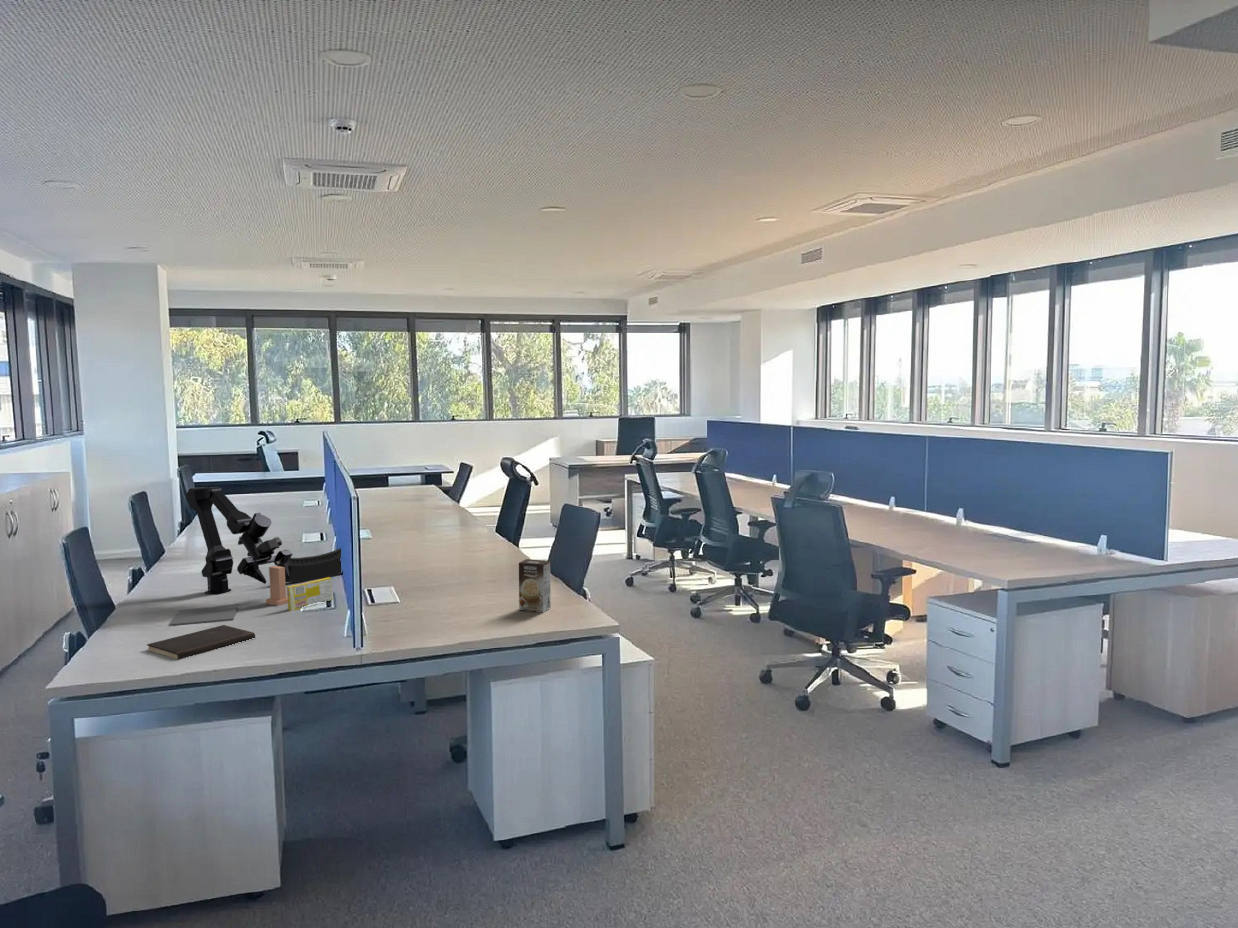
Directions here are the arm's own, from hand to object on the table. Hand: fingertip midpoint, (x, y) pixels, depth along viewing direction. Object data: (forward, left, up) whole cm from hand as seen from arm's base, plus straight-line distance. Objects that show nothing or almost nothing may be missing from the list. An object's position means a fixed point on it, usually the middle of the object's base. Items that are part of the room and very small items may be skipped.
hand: (277, 580), depth 288 cm
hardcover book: (+14, -45, -9) cm, 48 cm away
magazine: (-13, +36, -8) cm, 39 cm away
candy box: (+13, +1, -8) cm, 15 cm away
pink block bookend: (0, 0, -8) cm, 8 cm away
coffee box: (+88, +20, -8) cm, 91 cm away
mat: (-10, -21, -8) cm, 25 cm away
